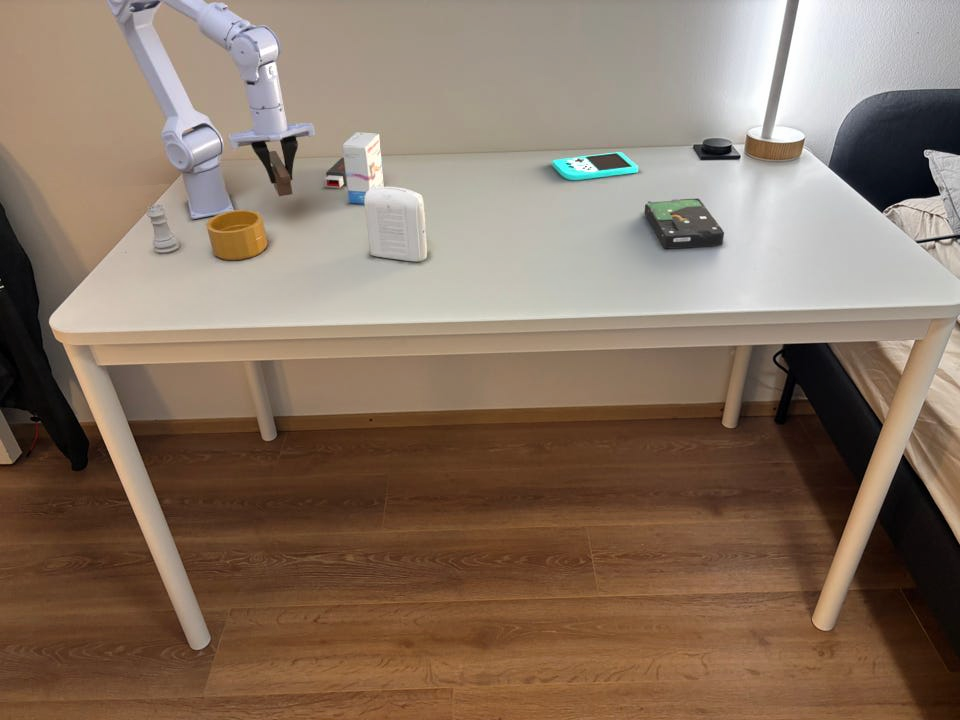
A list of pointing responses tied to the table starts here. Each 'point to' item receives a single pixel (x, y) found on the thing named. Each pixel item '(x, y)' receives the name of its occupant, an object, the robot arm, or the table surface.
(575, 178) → the handheld game console
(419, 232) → the photo printer
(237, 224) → the bowl
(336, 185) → the usb drive
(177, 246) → the rook chess piece
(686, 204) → the disk drive
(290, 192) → the tall wooden post
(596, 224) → the table surface
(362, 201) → the ink box
